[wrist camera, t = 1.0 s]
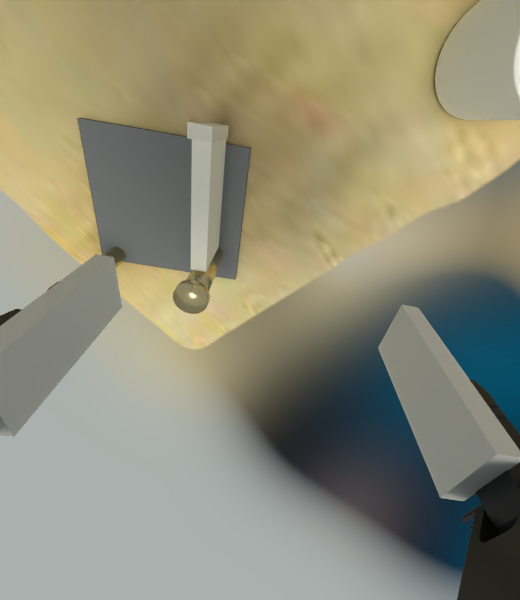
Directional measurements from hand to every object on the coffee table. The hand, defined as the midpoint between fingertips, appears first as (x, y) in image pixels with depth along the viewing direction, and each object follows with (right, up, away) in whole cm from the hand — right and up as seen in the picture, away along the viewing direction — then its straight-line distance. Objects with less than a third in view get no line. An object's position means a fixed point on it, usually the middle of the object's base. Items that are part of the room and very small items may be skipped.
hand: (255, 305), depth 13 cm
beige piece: (-4, +12, +16) cm, 20 cm away
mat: (-10, +11, +18) cm, 24 cm away
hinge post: (-6, +6, +21) cm, 23 cm away
